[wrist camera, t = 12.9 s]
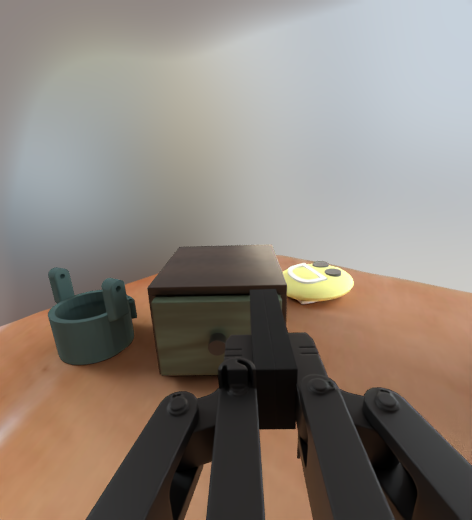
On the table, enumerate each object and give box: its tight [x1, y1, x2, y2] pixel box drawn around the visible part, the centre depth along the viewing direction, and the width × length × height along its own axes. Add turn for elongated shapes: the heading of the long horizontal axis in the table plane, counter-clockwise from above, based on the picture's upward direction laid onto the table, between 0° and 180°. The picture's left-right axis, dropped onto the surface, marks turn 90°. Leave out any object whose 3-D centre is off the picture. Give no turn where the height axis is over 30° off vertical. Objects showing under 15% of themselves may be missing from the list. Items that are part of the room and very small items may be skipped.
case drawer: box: [151, 293, 282, 375], centre depth 31 cm, size 14×11×8 cm
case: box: [147, 245, 287, 374], centre depth 33 cm, size 14×13×10 cm
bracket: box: [48, 267, 137, 365], centre depth 33 cm, size 9×9×9 cm
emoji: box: [282, 261, 353, 304], centre depth 45 cm, size 4×12×12 cm
